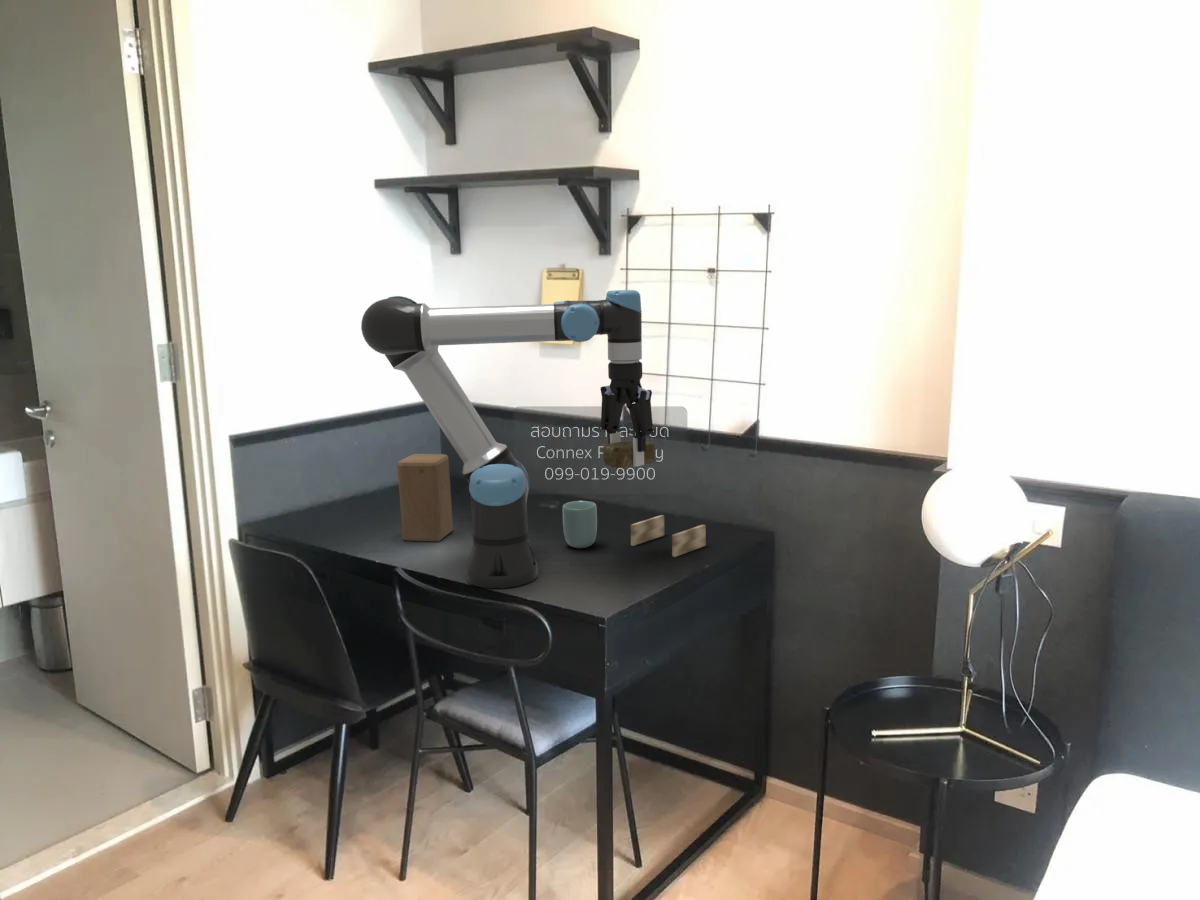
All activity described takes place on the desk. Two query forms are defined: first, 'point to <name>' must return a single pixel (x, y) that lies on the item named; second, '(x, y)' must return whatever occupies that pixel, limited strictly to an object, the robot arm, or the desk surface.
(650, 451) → the stone block
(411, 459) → the wooden block
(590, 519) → the cup
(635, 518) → the desk surface
